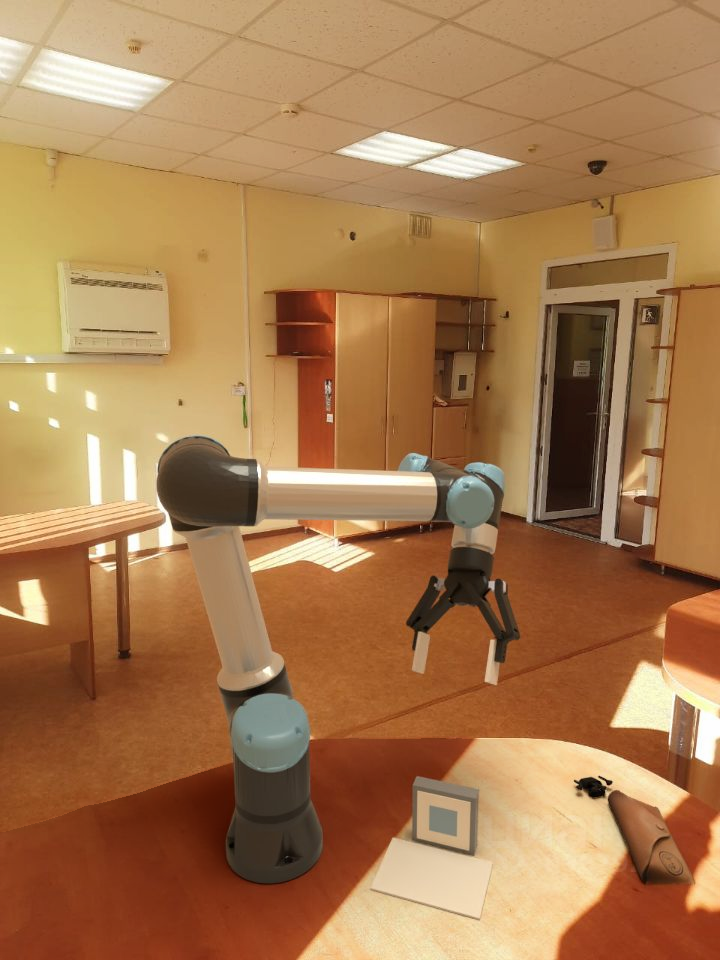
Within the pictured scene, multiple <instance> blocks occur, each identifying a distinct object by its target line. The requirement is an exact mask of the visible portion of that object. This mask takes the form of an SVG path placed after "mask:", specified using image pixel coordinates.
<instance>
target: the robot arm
mask: <svg viewBox="0 0 720 960" xmlns="http://www.w3.org/2000/svg"><path fill="white" fill-rule="evenodd" d="M156 471H157V475H156V483H155V484H156V494H157V497H158V500H159V503H160V505H162V507H163V509H164V510H165V511H166V512H167V514H168V518H169V521H170V524H171V527H172V530H173V532H174V533H176V534H178V535H180V536H182V537H184V538H185V541H186V543H187V547H188V551H189V555H190V557H191V562H192V565H193V568H194V572H195V575H196V578H197V579H196V580H197V583H198V586H199V589H200V593H201V596H202V600H203V602H204V606H205V612H206V614H207V618H208V620H209V624H210V625H209V626H210V628H211V632H212V635H213V638H214V642H215V645H216V650H217V652H218V656H219V659H220V663H221V665H222V667H221V668H220V670H219V672H218V674H217V675H216V681H217V687H218V689H219V693H220V697H221V700H222V703H223V707H224V711H225V714H226V718H227V723H228V731H229V739H230V745H231V753H232V754H231V755H232V765H233V777H234V778H233V779H234V780H233V781H234V782H233V783H234V785H233V786H234V800H235V801H234V802H235V804H234V805H235V807H234V811H233V814H232V816H231V820H230V824H229V827H228V829H227V833H226V838H225V854H226V860H227V862H228V865H229V867H230V866H231V867H230V869H232V871H233V872H234V873H236V875H238V876H239V877H241V878H243V879H244V880H247V881H250V882H254V883H258V884H277V883H278V884H279V883H284V882H287V881H288V882H289V881H291V880H293V879H297V877H300V876H301V875H303V874H305V873H307V872H308V871H309V870H310V869H312V868H313V866H315V864H316V863H317V862H318V860H319V859H320V857H321V855H322V851H323V845H324V844H323V843H324V842H323V839H324V838H323V829H322V824H321V822H320V820H319V817H318V814H317V811H316V809H315V807H314V804H313V802H312V800H311V795H312V794H311V766H310V764H311V761H310V760H311V758H310V757H311V756H310V752H311V751H310V741H311V726H310V721H309V718H308V717H309V716H308V713H307V711H306V709H305V707H304V706H303V705H302V704H301V702H299V701H298V700H297V699H295V697H294V694H293V693H294V692H293V687H292V685H291V682H290V678H289V675H288V672H287V671H288V670H287V668H286V664H285V660H284V658H283V656H282V655H281V654H279V653H277V652H275V651H273V649H272V646H271V642H270V641H271V640H270V638H269V635H268V630H267V627H266V623H265V619H264V615H263V611H262V608H261V604H260V600H259V595H258V592H257V589H256V584H255V582H254V577H253V574H252V569H251V567H250V562H249V558H248V555H247V551H246V548H245V543H244V539H243V536H242V533H241V527H257V526H258V525H259V524H260V523H262V522H263V521H264V520H280V521H281V520H285V521H287V520H288V521H289V520H296V521H297V520H298V521H301V520H302V521H304V520H305V521H365V522H366V521H368V522H369V521H372V522H373V521H378V522H379V521H380V522H382V521H383V522H389V521H390V522H440V523H442V522H443V523H452V524H453V525H454V527H453V532H452V537H451V547H452V548H451V550H449V556H448V563H447V575H446V577H445V578H441V577H438V576H436V575H433V574H432V575H431V576H430V578H429V581H428V585H427V587H426V589H425V591H424V592H423V594H422V596H421V597H420V599H419V600H418V602H417V604H416V605H415V607H414V608H413V610H412V612H411V613H410V615H409V617H408V618H407V620H406V621H405V625H406V626H407V627H409V628H410V629H412V630H413V632H414V633H413V640H412V645H411V649H412V650H411V651H413V652H414V654H413V655H414V656H413V661H412V666H411V671H412V672H415V673H419V674H421V675H422V674H425V671H426V664H427V659H428V658H427V657H428V652H429V651H428V650H429V646H430V641H431V640H430V639H431V635H430V634H429V633H428V632H429V631H430V630H431V629H432V628H433V627H434V625H435V624H437V623H438V622H439V620H441V618H442V617H443V616H444V615H445V614H446V613H447V612H448V611H449V610H450V609H453V608H454V607H455V606H456V605H457V606H458V607H465V606H468V607H471V608H475V607H477V608H478V610H479V611H480V613H481V615H482V616H483V618H484V620H485V622H486V623H487V625H488V627H489V629H490V631H491V632H492V634H493V635H494V637H493V638H494V639H490V642H489V648H488V656H487V661H486V662H487V663H486V669H485V676H484V683H487V684H491V685H494V686H497V685H498V681H499V679H498V678H499V672H500V664H504V663H505V662H506V658H507V656H506V655H507V650H508V644H509V643H510V642H512V641H519V640H520V639H521V633H520V631H519V627H518V624H517V620H516V618H515V615H514V614H515V613H514V611H513V608H512V605H511V602H510V599H509V596H508V593H509V585H508V583H507V582H506V581H504V580H503V579H500V578H496V579H495V580H491V577H492V575H493V569H494V562H495V557H494V555H493V554H494V553H495V551H496V548H497V540H498V534H499V526H500V520H501V514H502V506H503V500H504V498H505V487H506V485H505V484H506V483H505V481H506V476H505V472H504V471H503V470H502V469H501V468H500V467H498V466H497V465H495V464H492V463H484V462H479V461H477V462H471V463H468V464H467V465H466V466H465V467H464V469H460V468H458V467H455V466H452V465H450V464H447V463H445V462H442V461H441V460H437V459H435V458H431V457H429V456H427V455H422V454H419V453H415V452H412V453H411V452H410V453H408V454H407V455H406V456H405V457H404V458H403V459H402V460H401V462H400V464H399V466H398V469H397V470H379V469H375V470H372V469H347V468H344V469H343V468H342V469H341V468H319V467H318V468H317V467H316V468H314V467H295V466H294V467H292V466H266V465H264V464H263V463H262V461H260V459H258V458H244V457H236V456H232V455H231V454H230V453H229V449H226V447H225V446H224V444H222V443H221V442H220V441H218V440H216V439H214V438H212V437H210V436H206V435H201V434H199V435H198V434H192V435H188V436H187V435H186V436H183V437H180V438H177V439H176V440H175V441H173V442H171V443H170V444H169V445H168V446H167V447H166V448H165V449H164V450H163V452H162V453H161V455H160V458H159V459H158V463H157V470H156ZM444 589H445V591H444V592H443V593H442V594H441V595H440V593H441V591H443V590H444ZM490 591H492V592H491V593H493V594H494V597H495V600H496V601H495V602H496V604H497V607H498V610H499V615H500V616H501V620H502V623H501V622H500V620H499V619H498V617H497V615H496V614H495V612H494V610H493V608H492V605H491V603H490V602H489V600H488V598H487V597H486V596H487V595H488V594H489V593H490ZM436 600H437V601H436ZM434 603H435V604H434ZM503 626H504V627H503Z"/></svg>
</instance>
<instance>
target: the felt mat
mask: <svg viewBox="0 0 720 960" xmlns="http://www.w3.org/2000/svg"><path fill="white" fill-rule="evenodd" d="M493 866H494V862H492V861H490V860H489V861H488V860H486V859H482V858H478V857H473V856H471V855H466V854H465V855H464V854H462V853H458V852H453V851H450V850H449V851H448V850H446V849H442V848H441V849H440V848H438V847H433V846H430V845H425V844H422V843H421V844H420V843H416V842H414V841H413V842H412V841H408V840H406V839H405V840H404V839H401V838H396V837H392V838H391V841H390V843H389V845H388V848H387V849H386V852H385V854H384V856H383V859H382V860H381V863H380V865H379V866H378V870H377V872H376V874H375V877H374V879H373V880H372V884H371V885H370V888H369V890H371V891H373V892H376V893H381V894H384V895H388V896H392V897H394V898H395V897H396V898H398V899H401V900H402V899H403V900H406V901H410V902H413V903H417V904H420V905H423V906H427V907H431V908H435V909H438V910H442V911H446V912H450V913H451V914H455V915H456V914H457V915H460V916H463V917H467V918H471V919H474V920H476V921H477V920H478V921H481V918H482V917H481V916H482V913H483V908H484V905H485V900H486V896H487V891H488V887H489V883H490V878H491V874H492V869H493Z"/></svg>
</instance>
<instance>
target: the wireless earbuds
mask: <svg viewBox="0 0 720 960" xmlns="http://www.w3.org/2000/svg"><path fill="white" fill-rule="evenodd" d="M597 778H598V779H597ZM597 778H596V777H593V776H588V777H583V778H580V779H579V781H578V780H576V779H573V783H575V784H577V785H576V786H575V788H576V789H577V790H578V791H583V789H584V790H586V791H587V793H588V796H589V797H590V798H591V797H592V799H595V797H596V798H600V797H601V796H602V797H604V796H605V795H606V790H607V788H608V787H609V786H611V785H612V784H613V782H614V781H613V780H612V779H607V778H605V777H603V776H601V775H597ZM599 779H600V780H599ZM601 780H602V781H604V782H605V784H606V785H603V783H602V781H601Z"/></svg>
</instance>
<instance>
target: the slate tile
mask: <svg viewBox="0 0 720 960" xmlns="http://www.w3.org/2000/svg"><path fill="white" fill-rule="evenodd" d="M479 798H480V789H478V788H476V787H475V788H474V787H470V786H466V785H465V786H464V785H460V784H457V783H456V784H455V783H450V782H446V781H443V780H439V779H433V778H429V777H428V778H427V777H424V776H419V775H416V777H415V779H414V782H413V783H412V809H411V810H412V815H411V817H412V818H411V819H412V821H411V823H412V827H411V828H412V830H411V833H412V834H411V836H412V837H411V839H412V840H411V842H412V841H413V842H415V843H416V842H418V843H419V844H420V843H421V844H423V845H425V844H426V845H427V846H431V847H433V846H434V847H435V848H441V849H444V850H449V851H452V852H453V851H454V852H456V853H460V854H465V855H468V856H472V857H473V856H475V855H476V852H477V848H478V847H477V846H478V836H479V835H478V834H479V832H478V829H479V828H478V827H479V826H478V825H479V802H480V801H479Z"/></svg>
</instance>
